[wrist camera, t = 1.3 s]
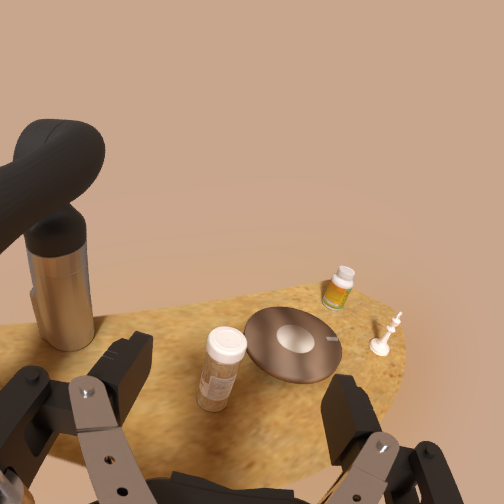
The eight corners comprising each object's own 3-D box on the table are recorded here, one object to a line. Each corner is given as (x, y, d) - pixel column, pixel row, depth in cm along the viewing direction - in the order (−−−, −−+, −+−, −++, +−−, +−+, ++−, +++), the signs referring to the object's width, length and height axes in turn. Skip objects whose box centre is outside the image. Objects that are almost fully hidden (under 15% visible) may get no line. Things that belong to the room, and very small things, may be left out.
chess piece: (365, 345, 57) (386, 309, 52) (375, 337, 60) (396, 302, 55) (382, 359, 53) (406, 323, 49) (391, 350, 57) (414, 315, 52)
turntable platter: (252, 385, 41) (255, 378, 40) (237, 309, 56) (239, 302, 55) (352, 380, 45) (357, 374, 44) (320, 314, 61) (323, 308, 60)
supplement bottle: (339, 314, 65) (356, 279, 60) (318, 304, 67) (334, 269, 62) (344, 303, 69) (359, 270, 65) (324, 294, 71) (338, 261, 67)
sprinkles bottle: (197, 385, 40) (210, 321, 34) (228, 390, 40) (248, 328, 34) (194, 410, 36) (206, 349, 30) (226, 415, 36) (248, 356, 30)
